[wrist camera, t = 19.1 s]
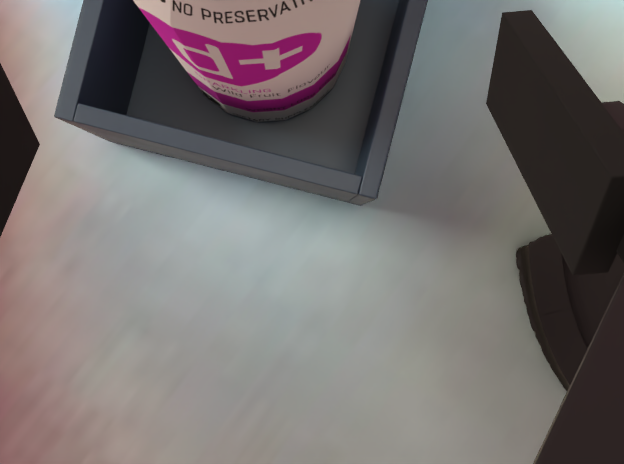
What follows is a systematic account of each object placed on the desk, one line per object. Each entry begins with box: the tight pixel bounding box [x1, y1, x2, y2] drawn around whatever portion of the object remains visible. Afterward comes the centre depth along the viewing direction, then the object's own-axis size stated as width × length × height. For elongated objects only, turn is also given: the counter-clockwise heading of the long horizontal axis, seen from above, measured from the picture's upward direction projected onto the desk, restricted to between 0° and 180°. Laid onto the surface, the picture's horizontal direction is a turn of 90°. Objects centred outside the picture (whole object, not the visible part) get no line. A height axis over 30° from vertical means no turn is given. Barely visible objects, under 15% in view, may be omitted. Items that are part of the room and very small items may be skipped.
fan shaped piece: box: [516, 234, 624, 391], centre depth 30 cm, size 8×14×2 cm, turn 14°
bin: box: [54, 0, 428, 206], centre depth 27 cm, size 14×14×7 cm
